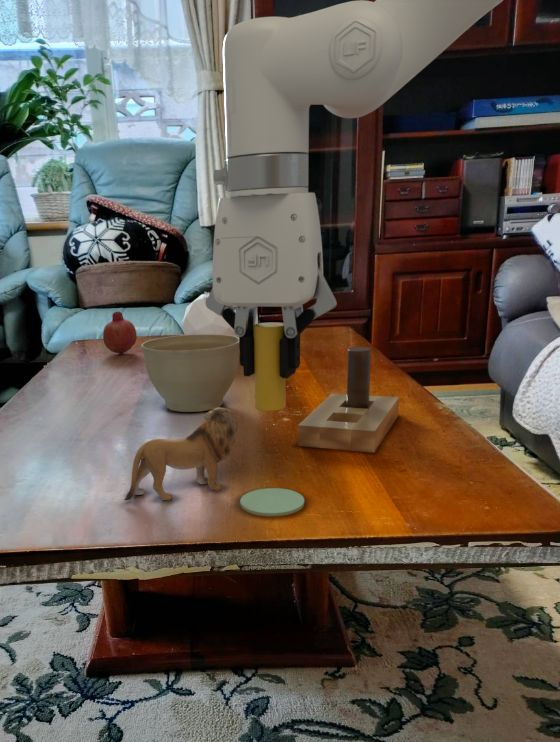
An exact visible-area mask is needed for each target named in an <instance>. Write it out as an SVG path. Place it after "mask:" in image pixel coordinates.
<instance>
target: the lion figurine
mask: <svg viewBox="0 0 560 742" xmlns="http://www.w3.org/2000/svg"><path fill="white" fill-rule="evenodd" d="M234 413H235V412H234V411H233V410H230V409H229V408H225V407H221V406H220V407H218V408H214V409H211V410H208V412H205V414H204V420H203V421H202V422H201V423H200V424H199V425H198V426H197V428H196V429H195V430H193V432H192V433H191V434H189V435H188V436H186V437H182V438H177V439H166V438H165V439H164V438H153V439H150V440H148V441H146V442H144V443H143V444H142V445H141V446H139V448H138V449H137V452H136V453H135V456H134V459H133V463H132V470H131V481H130V488H129V491H128V492H127V493H126V496H125V498H124V499H123V500H124V501H130V500H131V499H132V498H133V497H134V495H135V496H142V495H144V494H145V490H144V488H142V487H140V484H141V482H142V480H143V479H144V478H146V477H147V476H148V475H149V474H151V476H152V478H153V479H152V480H153V484H152V489H153V490H154V491H155V493H157V495H158V496H159V497H160V498H161V500H163V501H171V500H173V498H174V497H173V494H172V493H171V492H166V490H164V487H163V482H164V478H165V476H166V473H167V467H170V468H172V469H175V470H180V471H181V470H182V471H183V470H184V471H185V470H191V469H195V470H196V481H197V484H199V485H206V484H207V485H208V486H209V488H210V490H212V491H220V490H221V489H222V485H221V484H220V483H217V479H218V478H217V476H218V463H220V462H221V461H224V460H227V457H229V456H230V454H231V451H232V448H233V446H234V444H235V441H236V437H237V436H236V435H237V432H238V431H237V430H238V422H237V420H236V418H235V415H234ZM205 470H206V474H207V477H206V476H205Z"/></svg>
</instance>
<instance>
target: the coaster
mask: <svg viewBox="0 0 560 742" xmlns="http://www.w3.org/2000/svg"><path fill="white" fill-rule="evenodd" d="M239 505H240V507H241V509H242V510H244V511H245V512H247V513H249V514H252V515H255V516H261V517H281V516H282V517H283V516H289V515H292V514H295V513H297V512H299V511H300V510H302V509H303V508H304V506H305V497H304V496H303V495H302V494H301V493H299V492H298V491H294V490H292V489H287V488H279V487H266V488H260V489H259V488H258V489H255V490H252V491H248V492H247V493H245V494H244V495H242V496H241V498H240V500H239Z"/></svg>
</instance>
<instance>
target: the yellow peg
mask: <svg viewBox="0 0 560 742" xmlns="http://www.w3.org/2000/svg"><path fill="white" fill-rule="evenodd" d="M253 328H254V374H253V375H254V378H253V380H254V381H253V383H254V409H256V410H257V411H262V412H276V411H282V410H284V409H286V407H287V402H286V401H287V387H286V386H287V378H282V377H280V347H279V342H280V339H281V338H283V337H284V322H276V321H275V322H273V321H272V322H259V323H255V325H254V326H253Z"/></svg>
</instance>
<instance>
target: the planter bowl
mask: <svg viewBox="0 0 560 742" xmlns="http://www.w3.org/2000/svg"><path fill="white" fill-rule="evenodd" d="M140 346H141V351H142V354H143V359H144V364H145V369H146V372H147V375H148V378H149V380H150V382H151V384H152V386H153V388H154V389H155V390H156V392H157V393H158V394H159V395H160V397H161V398H162V399H163V400H164V404H165V407H166V408H167V409H168V410H170V411H174V412H181V413H197V412H198V413H199V412H205V411H206V412H207V411H212V410H213V409H214V408H219V407H220V408H221V406H222V405H223V403H224V397H225V395H226V394H227V393H228V391H229V390H230V388H231V386H232V384H233V382H234V381H235V378H236V375H237V372H238V368H239V364H240V349H239V338H238V337H236V336H231V335H220V334H191V335H184V334H179V335H171V336H165V337H158V338H153V339H149V340H147V341H145V342H142V343H141V345H140Z"/></svg>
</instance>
